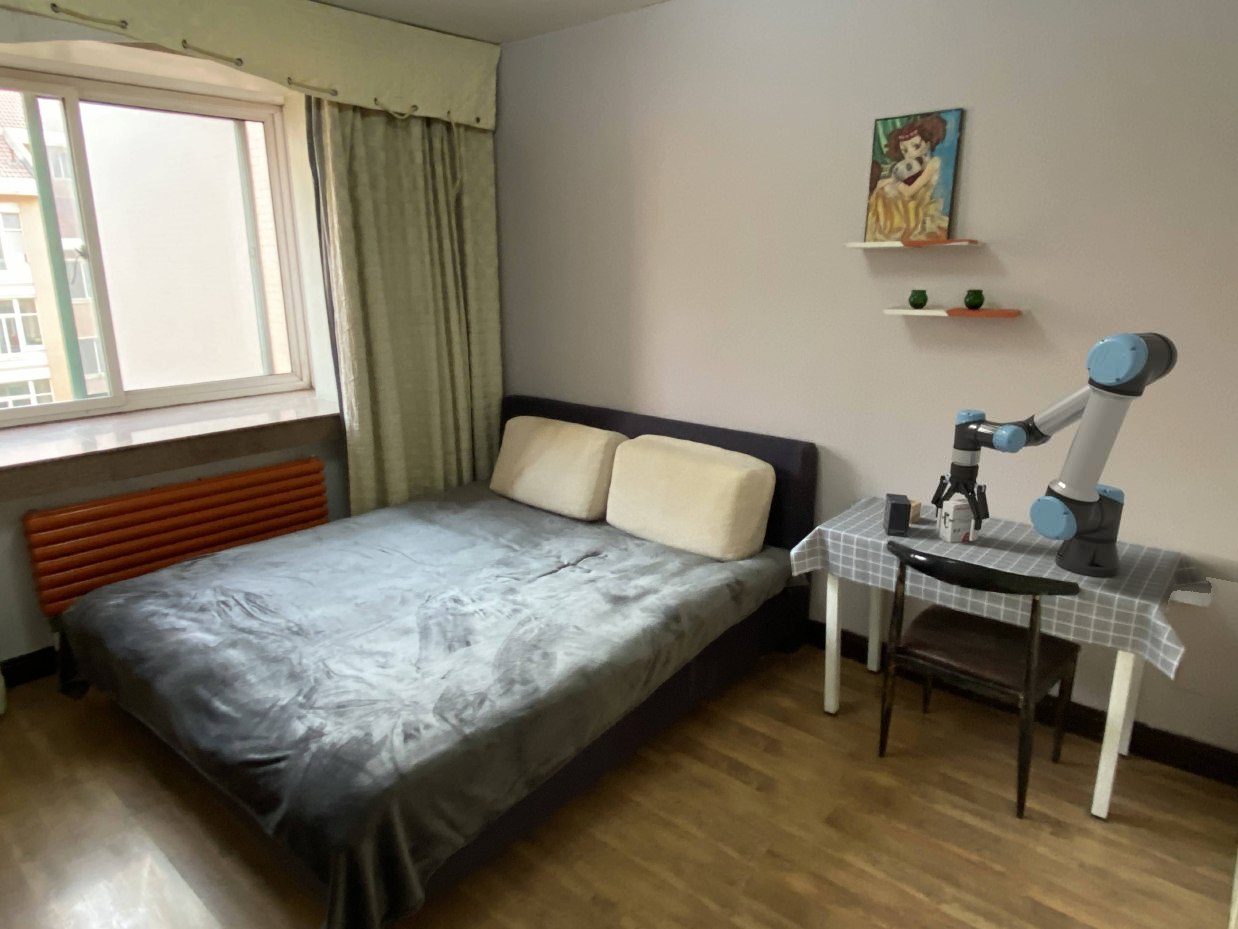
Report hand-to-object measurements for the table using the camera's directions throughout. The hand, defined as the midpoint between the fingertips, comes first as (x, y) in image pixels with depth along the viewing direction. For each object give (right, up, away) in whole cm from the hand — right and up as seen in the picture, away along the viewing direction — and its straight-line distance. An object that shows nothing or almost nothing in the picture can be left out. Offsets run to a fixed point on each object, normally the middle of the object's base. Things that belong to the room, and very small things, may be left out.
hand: (956, 534), depth 229 cm
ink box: (0, -2, 0) cm, 2 cm away
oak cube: (-8, +3, +18) cm, 20 cm away
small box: (-16, 0, +7) cm, 17 cm away
